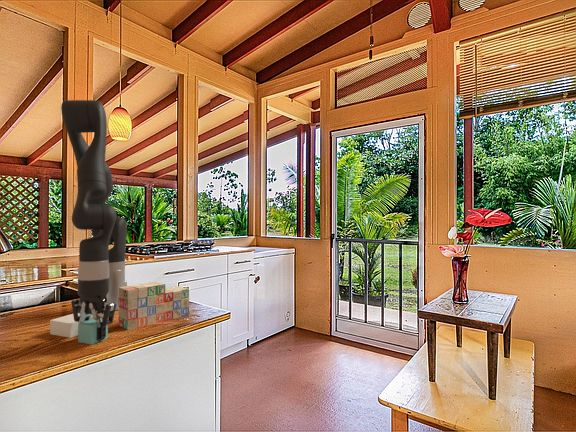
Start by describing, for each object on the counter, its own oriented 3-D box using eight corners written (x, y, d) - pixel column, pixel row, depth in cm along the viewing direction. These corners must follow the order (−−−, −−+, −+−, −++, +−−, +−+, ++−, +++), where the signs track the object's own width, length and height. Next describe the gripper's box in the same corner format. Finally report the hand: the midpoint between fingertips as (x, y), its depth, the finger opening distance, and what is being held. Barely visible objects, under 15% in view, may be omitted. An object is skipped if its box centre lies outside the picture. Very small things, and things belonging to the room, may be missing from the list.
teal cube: (93, 336, 98) (94, 318, 98) (107, 338, 97) (107, 320, 97) (78, 342, 94) (78, 323, 94) (92, 344, 92) (92, 325, 92)
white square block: (75, 325, 107) (75, 312, 107) (95, 329, 104) (95, 315, 104) (50, 334, 99) (50, 320, 99) (70, 337, 97) (70, 323, 97)
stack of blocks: (179, 312, 124) (179, 277, 124) (189, 315, 120) (189, 280, 120) (117, 326, 108) (118, 286, 108) (127, 330, 104) (127, 289, 103)
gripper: (125, 276, 96) (124, 337, 96) (86, 272, 101) (85, 331, 101) (102, 281, 89) (101, 347, 89) (61, 277, 94) (61, 339, 94)
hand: (93, 338), depth 95 cm, fingers closed on teal cube, 5 cm apart
